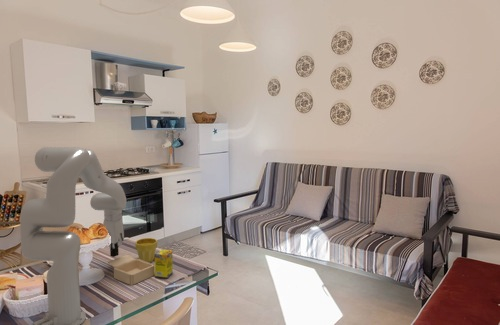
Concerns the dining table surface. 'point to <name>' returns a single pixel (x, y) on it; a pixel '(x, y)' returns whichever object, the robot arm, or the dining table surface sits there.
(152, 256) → the plant pot
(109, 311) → the dining table surface
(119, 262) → the flap
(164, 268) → the supplement box
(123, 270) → the carton
